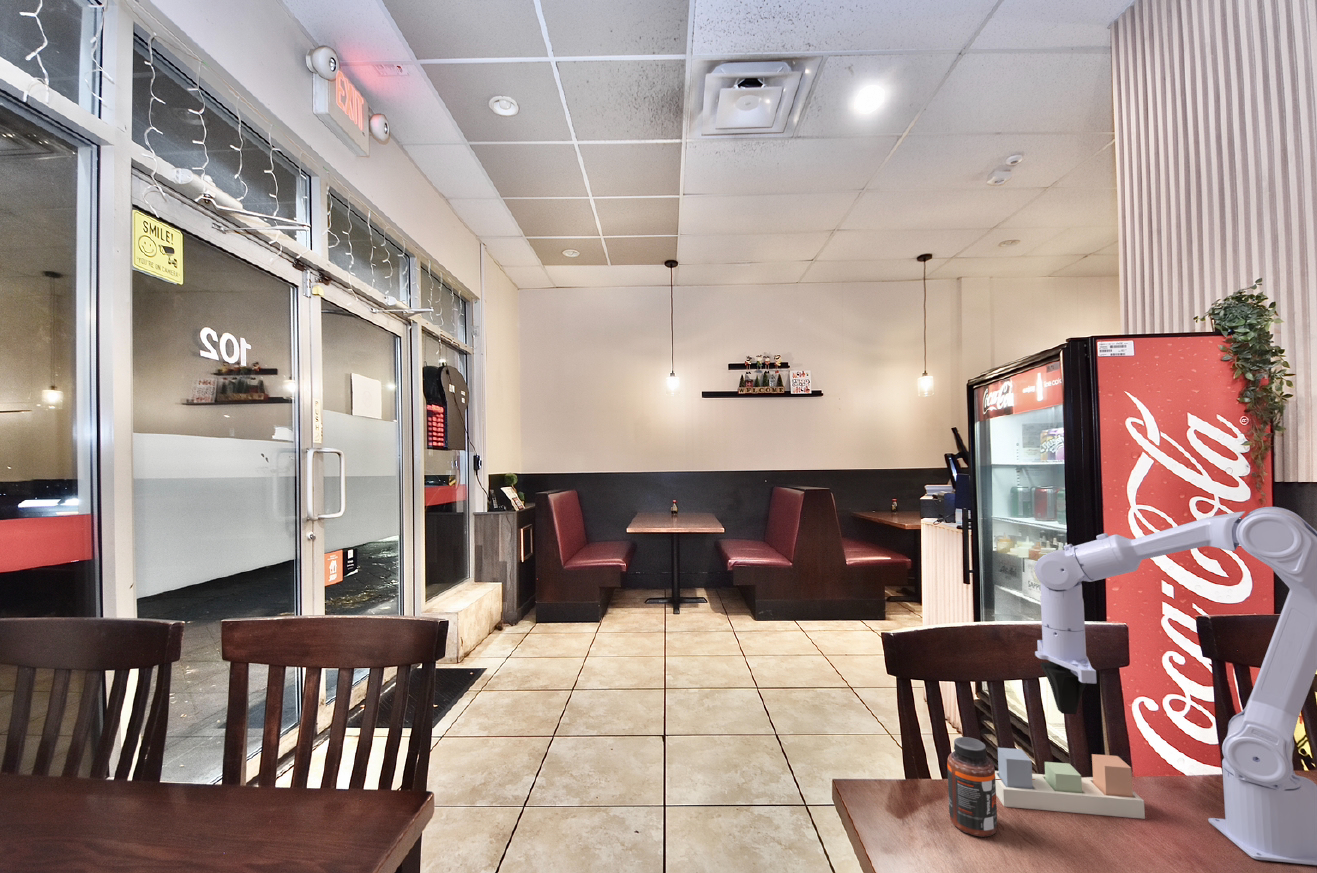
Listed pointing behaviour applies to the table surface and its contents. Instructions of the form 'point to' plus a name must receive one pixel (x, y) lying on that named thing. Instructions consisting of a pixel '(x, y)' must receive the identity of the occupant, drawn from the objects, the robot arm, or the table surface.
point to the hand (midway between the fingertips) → (1067, 712)
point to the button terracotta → (1112, 775)
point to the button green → (1063, 777)
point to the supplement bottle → (972, 788)
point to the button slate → (1015, 768)
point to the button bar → (1069, 799)
